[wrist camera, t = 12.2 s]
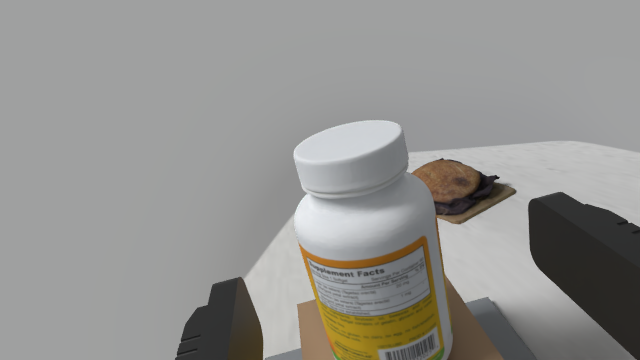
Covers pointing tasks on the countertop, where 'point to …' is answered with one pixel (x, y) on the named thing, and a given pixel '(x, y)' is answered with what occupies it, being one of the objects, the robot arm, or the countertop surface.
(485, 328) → the mat
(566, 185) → the countertop surface
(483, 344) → the walnut block
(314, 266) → the supplement bottle
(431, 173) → the bread roll
